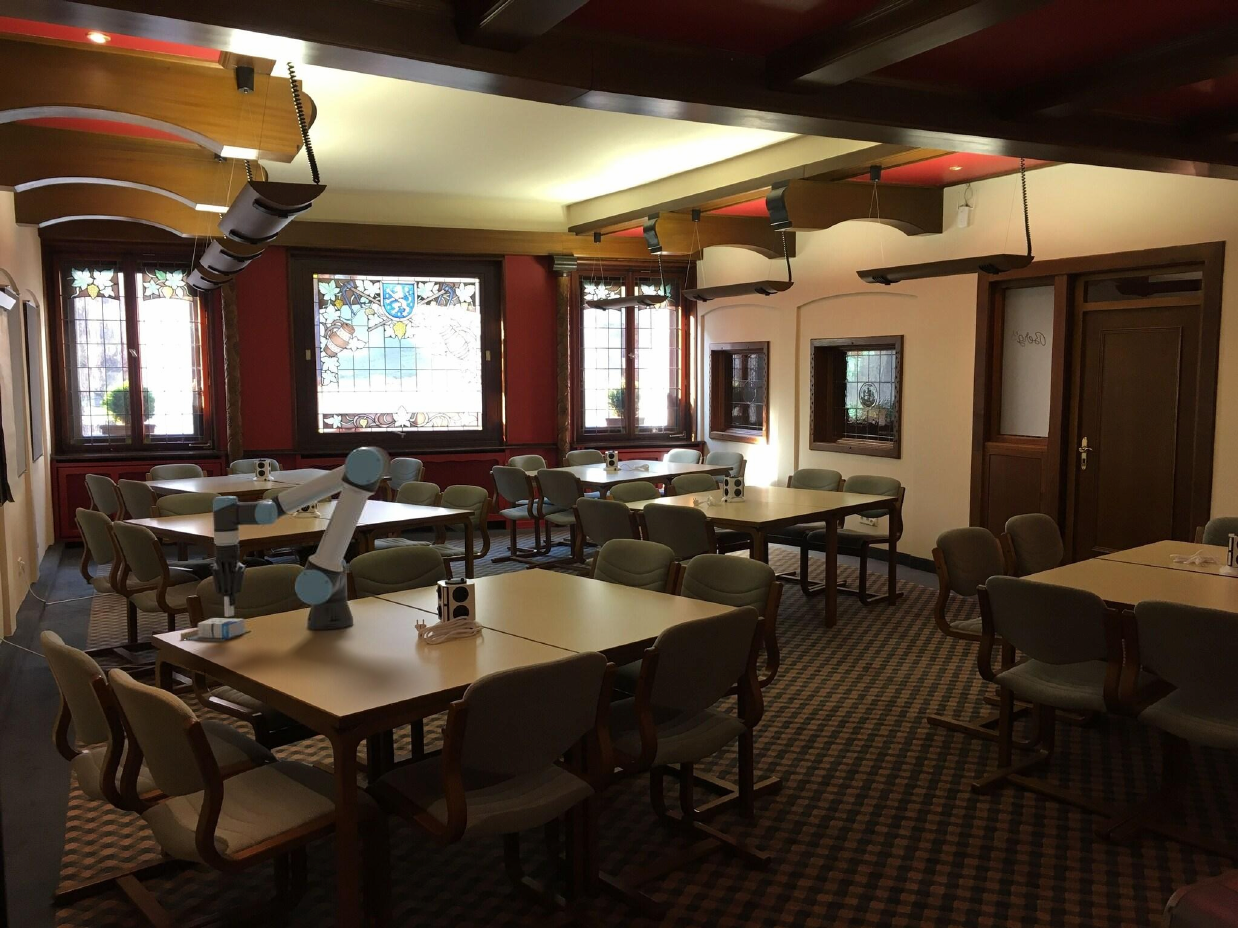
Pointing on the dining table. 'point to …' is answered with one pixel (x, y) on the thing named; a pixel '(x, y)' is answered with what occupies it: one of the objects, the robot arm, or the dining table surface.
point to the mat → (194, 637)
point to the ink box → (221, 628)
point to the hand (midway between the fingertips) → (229, 615)
